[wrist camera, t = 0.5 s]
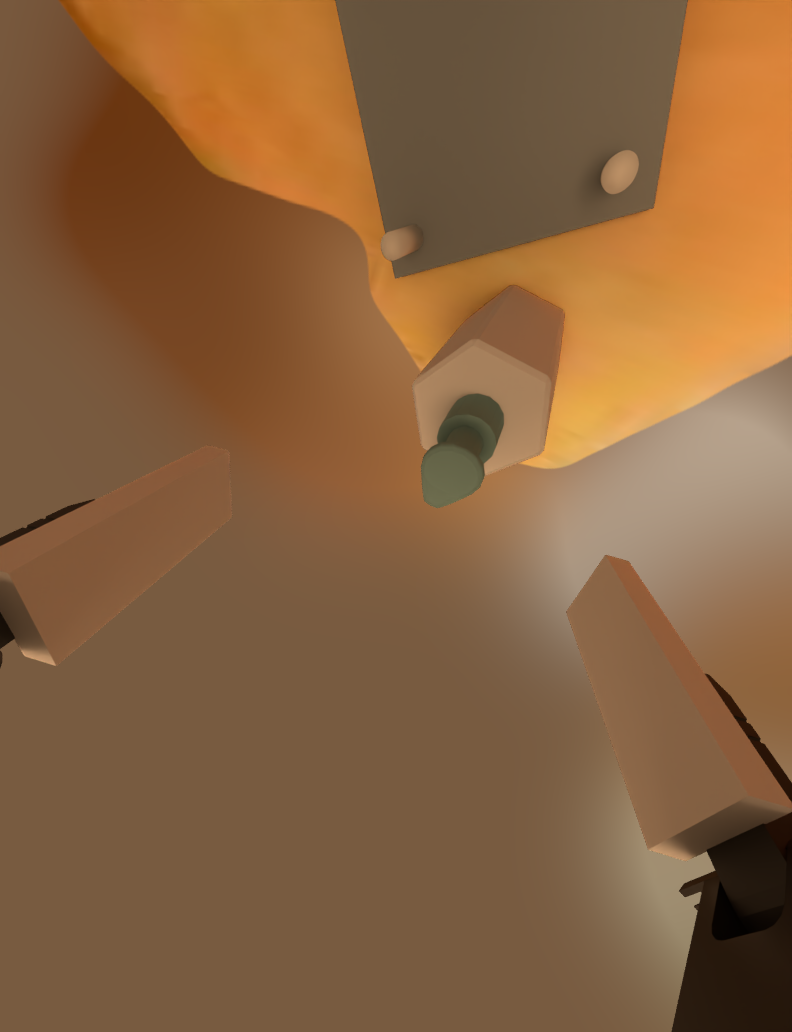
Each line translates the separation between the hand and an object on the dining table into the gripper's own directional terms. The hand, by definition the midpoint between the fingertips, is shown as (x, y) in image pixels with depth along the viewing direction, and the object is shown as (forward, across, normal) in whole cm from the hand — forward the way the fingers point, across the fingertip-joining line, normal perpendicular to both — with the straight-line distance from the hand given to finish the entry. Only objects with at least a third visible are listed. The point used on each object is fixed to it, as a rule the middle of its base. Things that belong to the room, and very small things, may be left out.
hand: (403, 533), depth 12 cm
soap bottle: (+29, +5, +6) cm, 30 cm away
